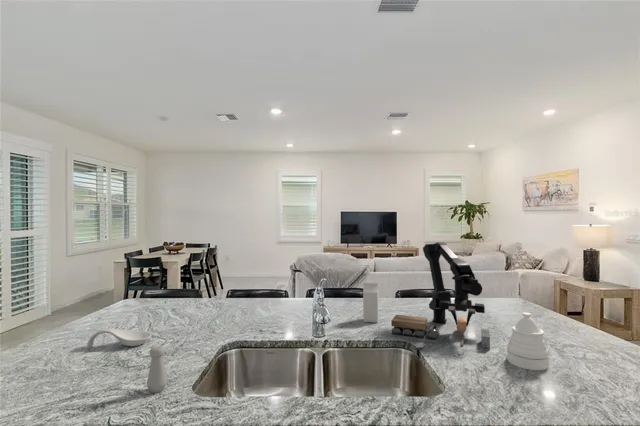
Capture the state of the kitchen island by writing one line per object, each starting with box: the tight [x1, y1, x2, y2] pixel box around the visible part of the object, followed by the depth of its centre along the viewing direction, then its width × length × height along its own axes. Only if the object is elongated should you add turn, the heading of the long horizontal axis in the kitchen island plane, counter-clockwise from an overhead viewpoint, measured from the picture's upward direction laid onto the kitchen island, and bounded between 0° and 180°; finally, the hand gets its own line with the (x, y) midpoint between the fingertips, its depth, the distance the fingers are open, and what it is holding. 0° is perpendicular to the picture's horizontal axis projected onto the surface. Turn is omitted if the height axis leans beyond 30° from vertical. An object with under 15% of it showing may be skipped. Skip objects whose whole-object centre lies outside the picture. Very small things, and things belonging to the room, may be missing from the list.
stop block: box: [480, 328, 491, 351], centre depth 141 cm, size 10×3×5 cm, turn 155°
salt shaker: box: [146, 345, 168, 394], centre depth 106 cm, size 6×6×13 cm
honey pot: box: [506, 312, 550, 371], centre depth 125 cm, size 13×13×18 cm
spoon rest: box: [86, 327, 152, 350], centre depth 144 cm, size 24×12×7 cm, turn 102°
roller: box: [456, 316, 468, 333], centre depth 156 cm, size 10×4×4 cm, turn 155°
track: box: [390, 325, 465, 347], centre depth 151 cm, size 12×29×4 cm, turn 65°
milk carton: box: [362, 282, 379, 324], centre depth 176 cm, size 7×7×19 cm
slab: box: [390, 314, 428, 330], centre depth 154 cm, size 10×14×2 cm
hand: (461, 325), depth 156 cm, fingers closed on roller, 4 cm apart
